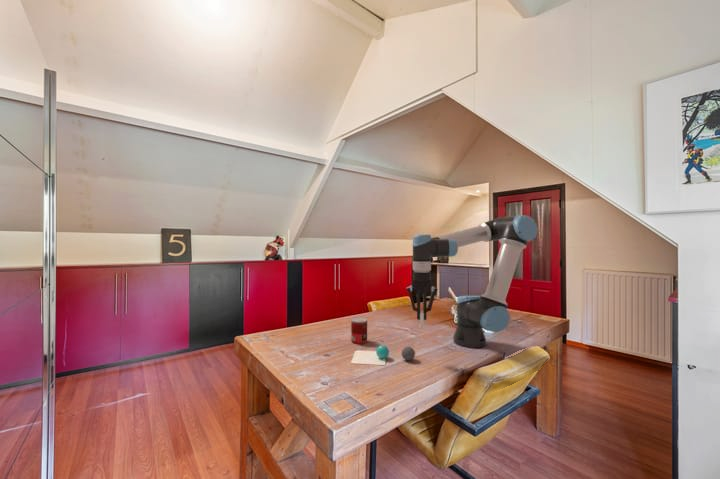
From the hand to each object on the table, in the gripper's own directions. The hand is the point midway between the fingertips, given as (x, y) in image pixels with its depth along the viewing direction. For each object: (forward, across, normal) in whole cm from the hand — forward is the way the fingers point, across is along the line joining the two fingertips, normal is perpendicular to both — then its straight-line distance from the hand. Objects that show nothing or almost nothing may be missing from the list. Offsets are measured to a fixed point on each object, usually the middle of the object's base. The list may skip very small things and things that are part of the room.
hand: (421, 327), depth 124 cm
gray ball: (+11, -6, 0) cm, 12 cm away
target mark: (+14, -22, 0) cm, 26 cm away
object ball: (+11, -16, 0) cm, 20 cm away
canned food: (+14, -29, +19) cm, 37 cm away
